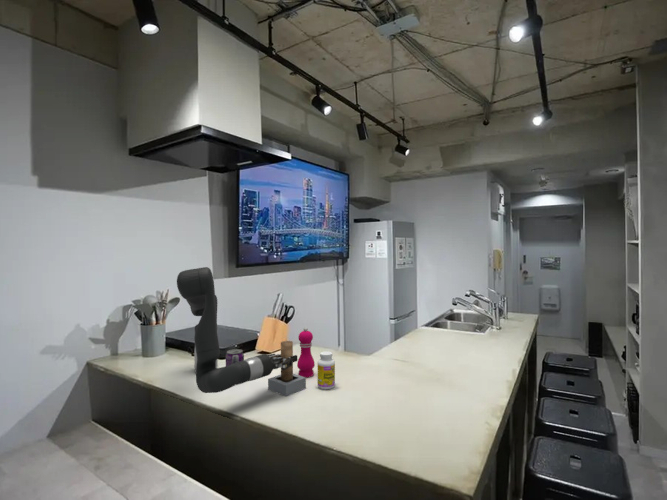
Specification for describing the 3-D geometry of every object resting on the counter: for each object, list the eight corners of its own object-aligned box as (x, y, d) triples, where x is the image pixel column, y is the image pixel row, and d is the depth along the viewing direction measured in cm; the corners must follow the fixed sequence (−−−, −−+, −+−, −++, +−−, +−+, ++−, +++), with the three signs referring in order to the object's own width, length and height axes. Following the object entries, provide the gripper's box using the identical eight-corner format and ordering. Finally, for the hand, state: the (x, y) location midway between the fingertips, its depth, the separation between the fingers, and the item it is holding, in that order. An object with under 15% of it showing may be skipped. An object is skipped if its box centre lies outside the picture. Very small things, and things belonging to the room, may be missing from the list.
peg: (278, 379, 136) (278, 342, 136) (287, 376, 140) (287, 340, 140) (286, 382, 133) (286, 344, 133) (295, 379, 137) (295, 342, 137)
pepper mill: (312, 378, 147) (311, 329, 147) (295, 377, 148) (294, 328, 148) (316, 372, 154) (316, 325, 154) (300, 371, 156) (299, 325, 155)
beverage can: (247, 379, 147) (247, 350, 147) (236, 385, 140) (235, 354, 140) (234, 377, 150) (233, 348, 150) (222, 383, 143) (221, 352, 143)
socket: (268, 389, 136) (268, 378, 136) (288, 381, 144) (288, 371, 144) (285, 396, 130) (285, 385, 130) (305, 388, 137) (305, 377, 137)
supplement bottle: (322, 391, 134) (321, 356, 134) (314, 385, 140) (314, 352, 140) (338, 388, 137) (337, 354, 137) (330, 382, 143) (329, 349, 143)
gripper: (268, 360, 121) (305, 349, 134) (243, 353, 130) (279, 343, 143) (268, 383, 121) (305, 370, 134) (243, 374, 130) (280, 362, 143)
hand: (292, 356), depth 138 cm, fingers closed on peg, 4 cm apart
